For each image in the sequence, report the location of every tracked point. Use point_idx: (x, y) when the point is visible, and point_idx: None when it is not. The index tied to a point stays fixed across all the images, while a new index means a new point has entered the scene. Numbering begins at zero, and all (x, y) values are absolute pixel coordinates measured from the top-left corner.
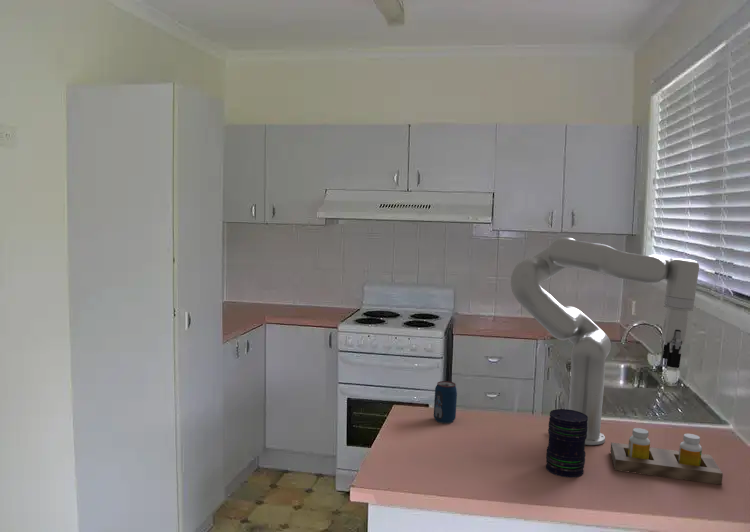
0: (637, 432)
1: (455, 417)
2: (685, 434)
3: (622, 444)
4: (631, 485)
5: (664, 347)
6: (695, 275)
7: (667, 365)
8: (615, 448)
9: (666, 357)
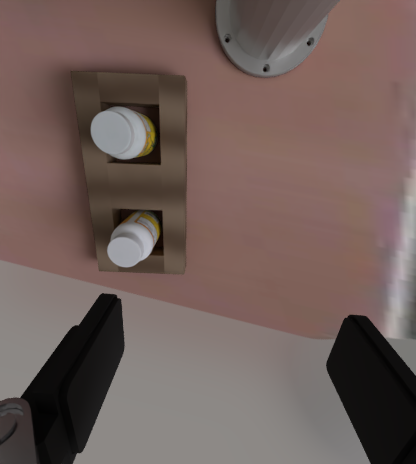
0: (92, 121)
1: None
2: (128, 241)
3: (179, 105)
4: (21, 103)
5: (404, 395)
6: None
7: (101, 298)
8: (145, 81)
9: (343, 337)
